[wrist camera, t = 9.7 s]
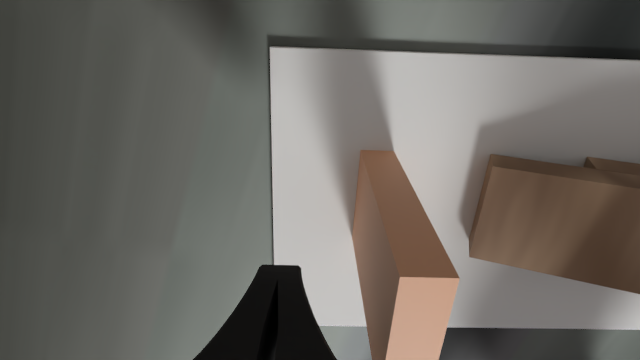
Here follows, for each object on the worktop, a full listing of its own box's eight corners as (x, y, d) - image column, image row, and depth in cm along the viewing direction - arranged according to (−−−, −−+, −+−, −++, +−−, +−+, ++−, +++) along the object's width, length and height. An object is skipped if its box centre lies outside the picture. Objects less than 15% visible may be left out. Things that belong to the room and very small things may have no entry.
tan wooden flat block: (393, 151, 18) (459, 278, 10) (381, 237, 20) (428, 399, 12) (360, 149, 18) (400, 276, 10) (351, 237, 20) (378, 399, 12)
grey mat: (744, 326, 24) (751, 330, 24) (275, 320, 23) (275, 325, 23) (931, 70, 17) (943, 72, 17) (270, 46, 16) (269, 47, 16)
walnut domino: (490, 153, 18) (721, 187, 16) (468, 239, 21) (668, 281, 18) (492, 166, 17) (746, 205, 14) (469, 256, 19) (685, 304, 17)
